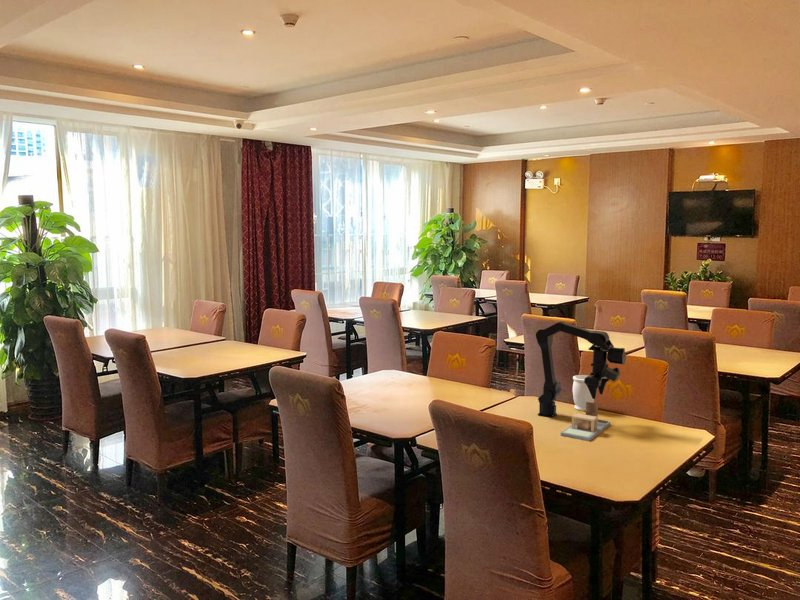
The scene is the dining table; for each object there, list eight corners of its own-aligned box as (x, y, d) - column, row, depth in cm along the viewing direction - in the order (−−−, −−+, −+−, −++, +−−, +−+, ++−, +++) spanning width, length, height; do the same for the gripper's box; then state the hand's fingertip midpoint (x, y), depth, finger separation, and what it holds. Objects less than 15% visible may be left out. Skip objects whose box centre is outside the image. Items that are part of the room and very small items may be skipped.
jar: (597, 411, 298) (598, 379, 296) (575, 411, 298) (576, 380, 296) (591, 405, 309) (592, 374, 307) (569, 405, 309) (570, 374, 307)
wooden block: (577, 427, 270) (577, 407, 269) (586, 421, 279) (586, 401, 278) (588, 430, 267) (588, 409, 266) (597, 423, 276) (598, 403, 275)
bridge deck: (560, 435, 265) (560, 420, 264) (583, 419, 286) (583, 405, 285) (589, 441, 258) (589, 425, 257) (610, 424, 279) (610, 410, 278)
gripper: (611, 368, 266) (609, 404, 268) (625, 360, 281) (623, 395, 283) (584, 363, 272) (582, 400, 274) (599, 356, 287) (597, 390, 289)
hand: (597, 396), depth 280 cm, fingers open, 9 cm apart
